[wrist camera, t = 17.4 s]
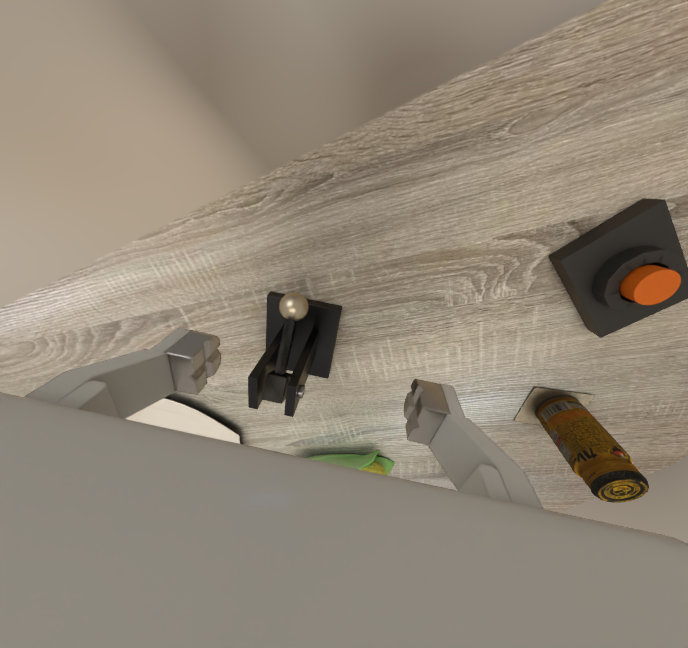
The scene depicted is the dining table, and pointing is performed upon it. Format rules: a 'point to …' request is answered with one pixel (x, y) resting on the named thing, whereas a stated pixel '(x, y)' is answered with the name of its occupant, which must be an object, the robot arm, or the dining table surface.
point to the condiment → (585, 444)
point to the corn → (358, 461)
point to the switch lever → (285, 347)
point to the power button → (650, 284)
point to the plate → (184, 420)
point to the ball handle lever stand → (296, 349)
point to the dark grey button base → (620, 265)
